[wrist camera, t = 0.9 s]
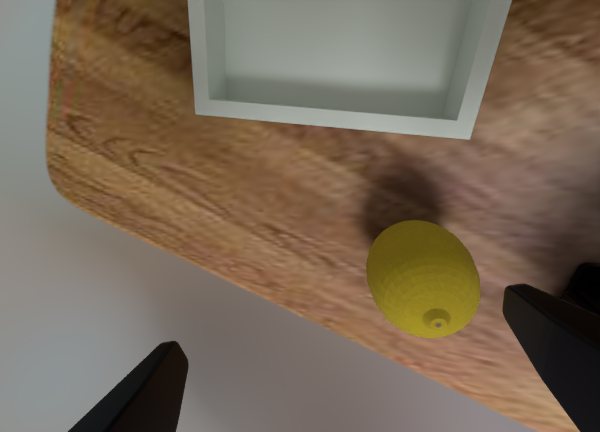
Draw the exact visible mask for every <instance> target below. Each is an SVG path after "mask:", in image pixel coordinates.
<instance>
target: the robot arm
mask: <svg viewBox="0 0 600 432" xmlns="http://www.w3.org/2000/svg"><path fill="white" fill-rule="evenodd" d="M589 270H590V271H589ZM587 271H589V272H587ZM586 272H587V273H586ZM503 315H504V317H505V319H506V321H507V323H508V324H509V326H510V328H511V329H512V331H513V333H514V334H515V336H516V338H517V339H518V341H519V343H520V344H521V346H522V348H523V349H524V351H525V353H526V354H527V356H528V358H529V359H530V361H531V363H532V364H533V366H534V368H535V369H536V371H537V372H538V374H539V375H540V377H541V379H542V380H543V381H544V383H545V384H546V386H547V387H548V388H549V390H550V391H551V393H552V394H553V395H554V397H555V398H556V399H557V401H558V402H559V403H560V405H561V406H562V407H563V409H564V410H565V412H566V413H567V414H568V416H569V417H570V418H571V420H572V421H573V422H574V424H575V425H576V427H577V428H578V429H579V431H580V432H600V264H595V263H584V264H582V265H580V266H579V267H578V268H577V270H576V272H575V274H574V276H573V277H572V279H571V281H570V283H569V285H568V287H567V288H566V290H565V292H564V294H563V296H562V298H561V299H560V298H557V297H555V296H553V295H550V294H548V293H546V292H544V291H541V290H539V289H537V288H534V287H532V286H530V285H527V284H515V285H509V286H507V287H506V288H505V291H504V300H503ZM187 372H188V359H187V357H186V355H185V354H184V352H183V350H182V349H181V347H180V345H179V344H178V342H176V341H170V342H163V343H161V344H160V345H159V346H157V347H156V348H155V349H154V350H153V351H152V352H151V353H150V354H149V355H148V356H147V357H146V358H145V359H144V360H143V361H142V362H141V363H139V365H137V366H136V367H135V368H134V369H133V370H132V371H131V372H130V373H129V374H128V375H127V376H126V377H125V378H124V379H123V380H122V381H121V382H119V383H118V384H117V385H116V386H115V387H114V388H113V389H112V390H111V391H110V392H109V393H108V394H107V395H106V396H105V397H104V398H103V399H102V400H101V401H99V402H98V403H97V404H96V405H95V406H94V407H93V408H92V409H91V410H90V411H89V412H88V413H87V414H86V415H85V416H84V417H83V418H82V419H81V420H80V421H78V422H77V423H76V424H75V425H74V426H73V427H72V428H71V429H70V430H69V431H68V432H176V428H177V424H178V420H179V415H180V409H181V404H182V399H183V393H184V388H185V383H186V377H187Z"/></svg>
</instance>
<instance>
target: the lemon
mask: <svg viewBox="0 0 600 432" xmlns="http://www.w3.org/2000/svg"><path fill="white" fill-rule="evenodd" d="M366 269H367V282H368V285H369V288H370V291H371V294H372V296H373V299H374V301H375V303H376V305H377V306H378V308H379V309H380V310H381V312H382V313H383V314H384V316H385V317H386V318H387V319H388V320H389V321H390V322H391V323H392V324H394V325H395V326H396V327H397V328H399V329H400V330H403V331H405V332H407V333H409V334H412V335H415V336H419V337H425V338H437V337H444V336H447V335H450V334H453V333H455V332H457V331H458V330H460V329H462V328H463V327H464V326H465V325H466V324H467V323H468V322H469V321H470V320H471V319H472V317H473V316H474V314H475V313H476V311H477V308H478V305H479V301H480V297H481V290H480V278H479V274H478V271H477V268H476V266H475V264H474V261H473V259H472V257H471V255H470V253H469V251H468V250H467V249H466V247H465V246H464V245H463V244H462V243H461V241H460V240H459V239H458V238H457V237H456V236H455V235H453V234H452V233H450V232H449V231H447V230H446V229H444V228H443V227H441V226H439V225H436V224H434V223H431V222H428V221H420V220H409V221H402V222H399V223H396V224H393V225H392V226H390V227H388V228H387V229H385V230H384V231H383V232H382V233H381V234H380V235H379V236H378V237H377V238H376V239H375V241H374V243H373V244H372V246H371V248H370V250H369V254H368V259H367V263H366Z"/></svg>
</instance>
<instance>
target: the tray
mask: <svg viewBox="0 0 600 432" xmlns="http://www.w3.org/2000/svg"><path fill="white" fill-rule="evenodd" d="M511 2H512V0H188V12H189V27H190V42H191V56H192V71H193V85H194V100H195V114H196V115H207V116H218V117H229V118H240V119H251V120H262V121H272V122H283V123H294V124H305V125H316V126H327V127H338V128H349V129H360V130H371V131H381V132H392V133H403V134H414V135H425V136H436V137H447V138H458V139H469V140H470V137H471V134H472V130H473V127H474V124H475V120H476V117H477V114H478V111H479V107H480V104H481V101H482V97H483V94H484V91H485V87H486V84H487V81H488V78H489V74H490V71H491V68H492V64H493V61H494V58H495V54H496V51H497V48H498V44H499V41H500V38H501V35H502V31H503V28H504V25H505V21H506V18H507V15H508V11H509V8H510V5H511Z"/></svg>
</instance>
